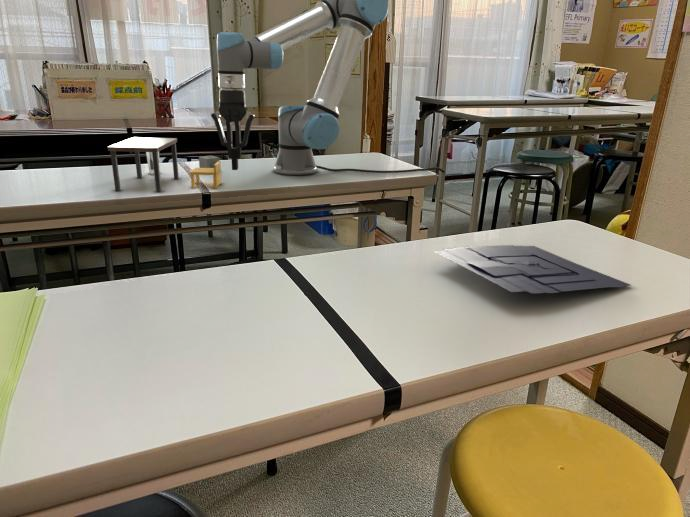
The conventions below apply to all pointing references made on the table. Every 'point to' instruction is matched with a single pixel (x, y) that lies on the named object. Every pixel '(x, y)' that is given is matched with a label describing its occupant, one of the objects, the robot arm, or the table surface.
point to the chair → (207, 171)
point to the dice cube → (207, 161)
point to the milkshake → (150, 161)
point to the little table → (139, 146)
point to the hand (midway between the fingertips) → (235, 169)
